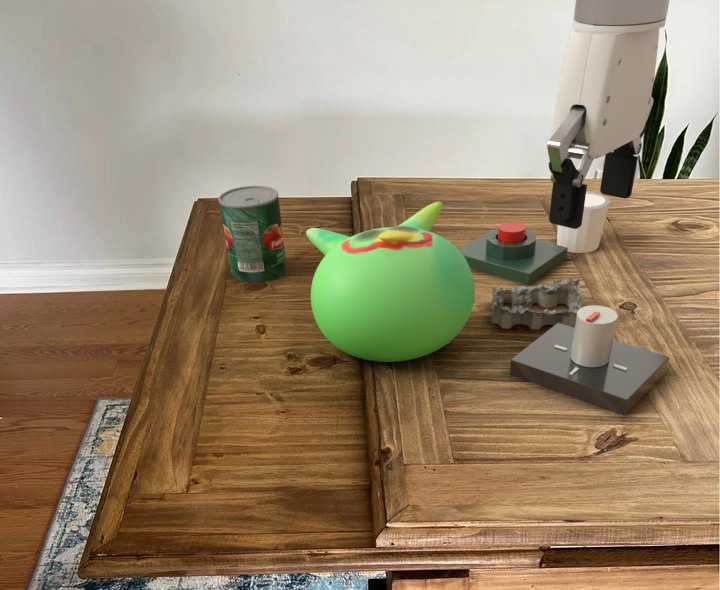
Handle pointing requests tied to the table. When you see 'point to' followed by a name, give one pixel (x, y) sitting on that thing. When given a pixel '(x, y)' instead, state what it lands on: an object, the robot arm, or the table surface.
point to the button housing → (513, 257)
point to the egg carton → (544, 297)
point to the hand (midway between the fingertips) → (590, 209)
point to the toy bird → (391, 289)
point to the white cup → (586, 226)
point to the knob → (593, 336)
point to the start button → (511, 232)
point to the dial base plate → (590, 371)
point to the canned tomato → (253, 233)
